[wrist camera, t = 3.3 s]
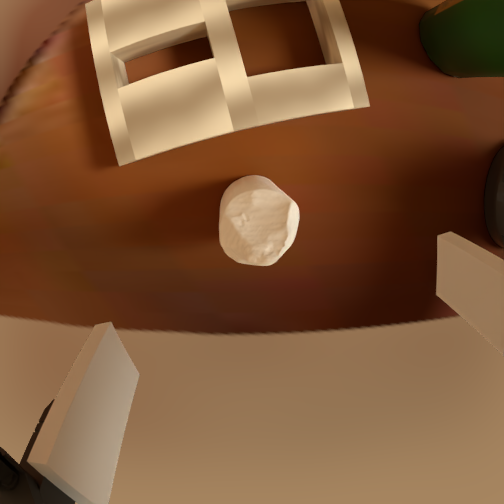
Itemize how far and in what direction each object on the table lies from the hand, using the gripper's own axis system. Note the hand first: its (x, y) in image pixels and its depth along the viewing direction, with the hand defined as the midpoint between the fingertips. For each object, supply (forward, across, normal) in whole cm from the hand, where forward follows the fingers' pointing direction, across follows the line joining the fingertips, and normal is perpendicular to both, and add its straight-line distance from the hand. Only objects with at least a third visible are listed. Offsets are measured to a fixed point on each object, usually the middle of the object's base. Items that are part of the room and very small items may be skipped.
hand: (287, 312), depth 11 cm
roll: (+19, 0, 0) cm, 19 cm away
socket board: (+19, -1, -15) cm, 24 cm away
